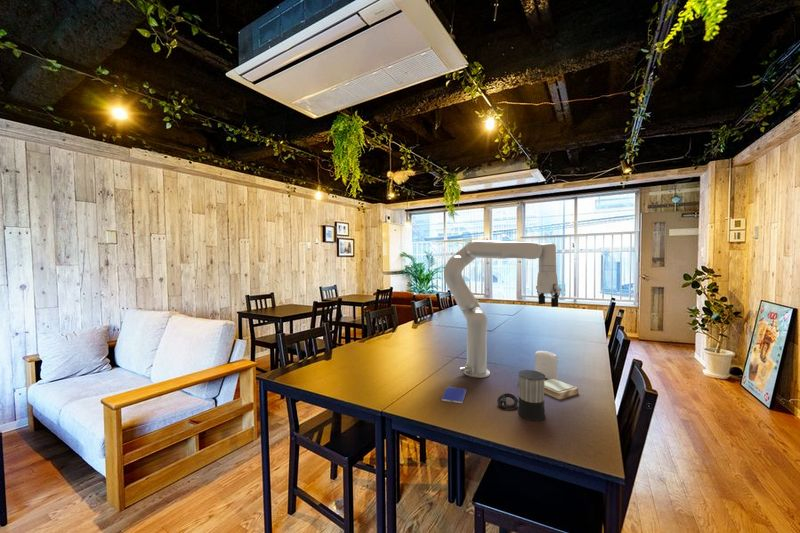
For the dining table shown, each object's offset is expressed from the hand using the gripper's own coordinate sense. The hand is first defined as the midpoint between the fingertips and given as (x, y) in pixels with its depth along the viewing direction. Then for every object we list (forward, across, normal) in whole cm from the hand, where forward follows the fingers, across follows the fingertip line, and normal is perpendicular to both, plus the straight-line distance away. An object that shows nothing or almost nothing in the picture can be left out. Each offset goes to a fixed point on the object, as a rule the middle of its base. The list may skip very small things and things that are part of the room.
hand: (548, 305), depth 151 cm
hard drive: (+34, +12, -52) cm, 63 cm away
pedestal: (+34, +16, -8) cm, 38 cm away
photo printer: (+34, 0, -2) cm, 35 cm away
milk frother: (+34, +29, -32) cm, 55 cm away
